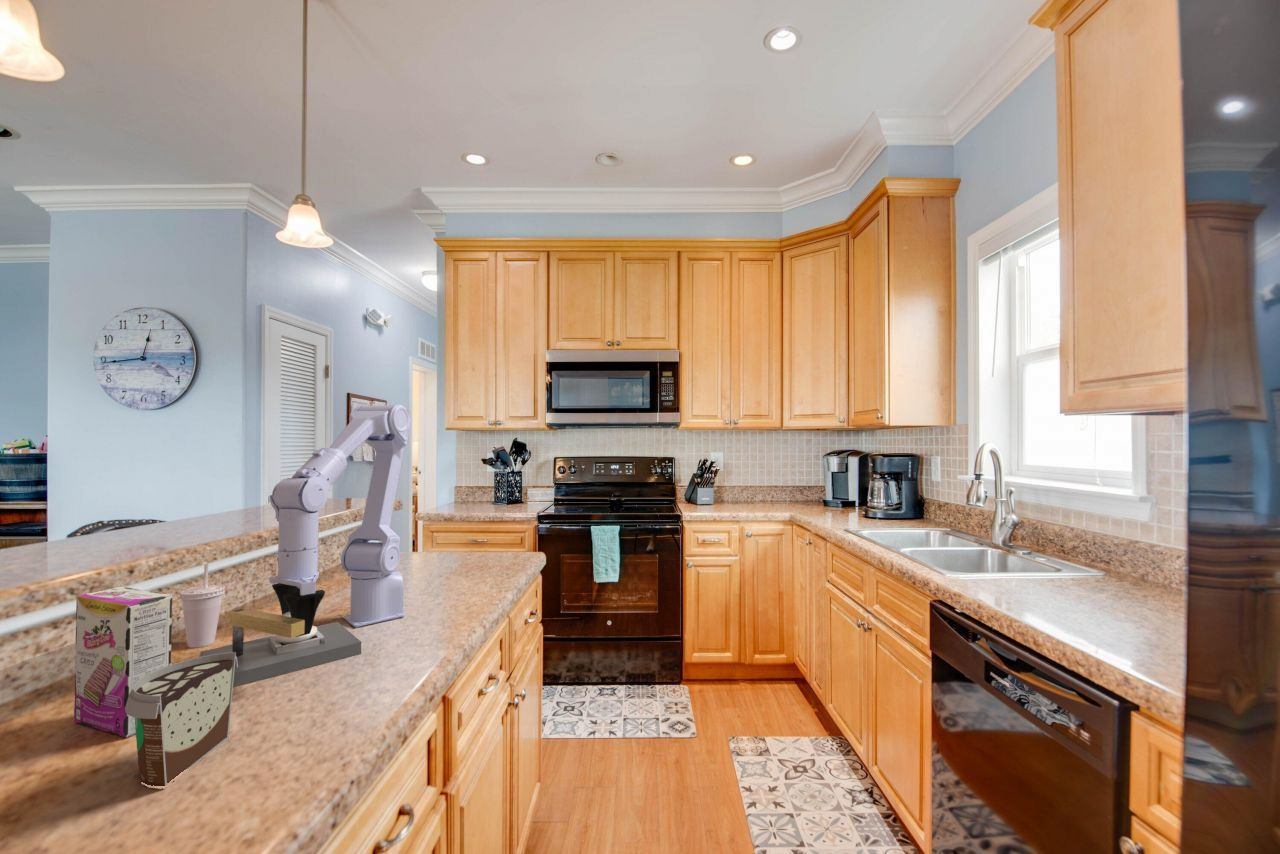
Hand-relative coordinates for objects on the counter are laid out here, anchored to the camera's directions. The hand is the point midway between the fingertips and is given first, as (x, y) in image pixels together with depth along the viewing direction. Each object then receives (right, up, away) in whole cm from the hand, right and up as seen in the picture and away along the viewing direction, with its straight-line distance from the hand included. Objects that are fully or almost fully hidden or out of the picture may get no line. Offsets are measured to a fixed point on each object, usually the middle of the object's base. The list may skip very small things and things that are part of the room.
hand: (297, 629), depth 88 cm
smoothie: (-21, -5, +5) cm, 22 cm away
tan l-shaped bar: (0, -2, -8) cm, 8 cm away
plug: (0, -2, 0) cm, 2 cm away
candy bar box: (-9, -4, -21) cm, 23 cm away
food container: (+5, -4, -30) cm, 31 cm away
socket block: (-1, -4, -2) cm, 5 cm away
